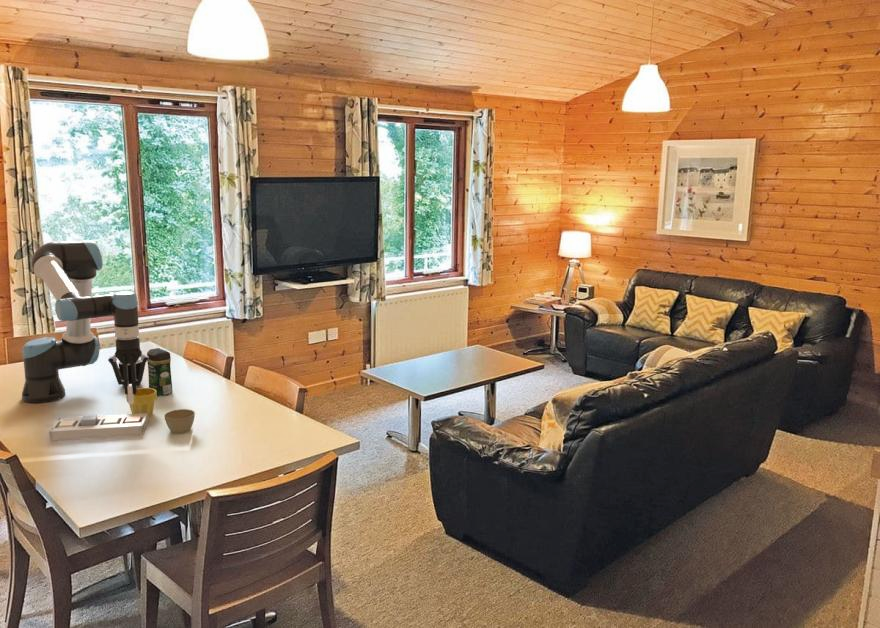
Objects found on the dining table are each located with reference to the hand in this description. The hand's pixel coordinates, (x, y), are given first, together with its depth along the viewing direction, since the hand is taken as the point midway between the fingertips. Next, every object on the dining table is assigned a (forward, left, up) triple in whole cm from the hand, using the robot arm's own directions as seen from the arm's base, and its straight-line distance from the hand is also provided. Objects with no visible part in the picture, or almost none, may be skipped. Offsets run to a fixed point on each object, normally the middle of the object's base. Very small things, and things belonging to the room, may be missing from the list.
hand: (131, 402), depth 247 cm
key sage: (-7, 0, -8) cm, 11 cm away
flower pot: (+16, -5, -11) cm, 20 cm away
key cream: (-21, 0, -8) cm, 22 cm away
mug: (-10, +59, -11) cm, 60 cm away
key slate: (-14, 0, -7) cm, 15 cm away
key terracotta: (0, 0, -8) cm, 8 cm away
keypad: (-10, 0, -10) cm, 15 cm away
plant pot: (+1, +15, -11) cm, 18 cm away
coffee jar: (+4, +43, -11) cm, 44 cm away
